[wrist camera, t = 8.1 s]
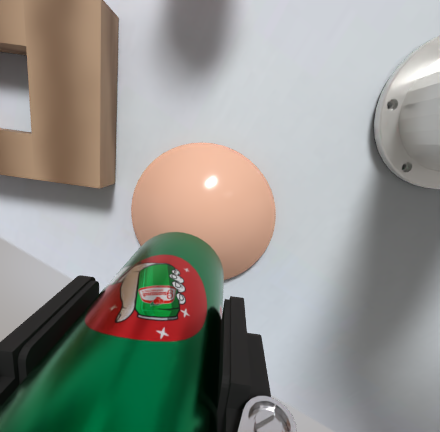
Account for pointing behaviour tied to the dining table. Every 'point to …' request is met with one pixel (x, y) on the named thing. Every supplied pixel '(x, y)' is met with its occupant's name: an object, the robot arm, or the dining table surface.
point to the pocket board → (64, 90)
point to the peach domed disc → (207, 202)
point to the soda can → (135, 351)
